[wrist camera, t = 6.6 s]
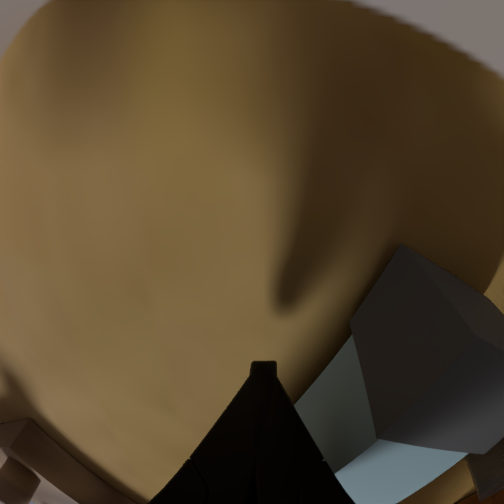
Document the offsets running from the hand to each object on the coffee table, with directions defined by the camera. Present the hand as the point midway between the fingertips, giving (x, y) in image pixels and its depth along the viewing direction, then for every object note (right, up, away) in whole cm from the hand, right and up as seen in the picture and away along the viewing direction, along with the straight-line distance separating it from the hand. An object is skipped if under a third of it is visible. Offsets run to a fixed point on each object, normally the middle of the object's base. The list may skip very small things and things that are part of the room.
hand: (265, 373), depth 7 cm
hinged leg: (+2, -2, +2) cm, 4 cm away
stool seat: (-15, -14, +8) cm, 22 cm away
